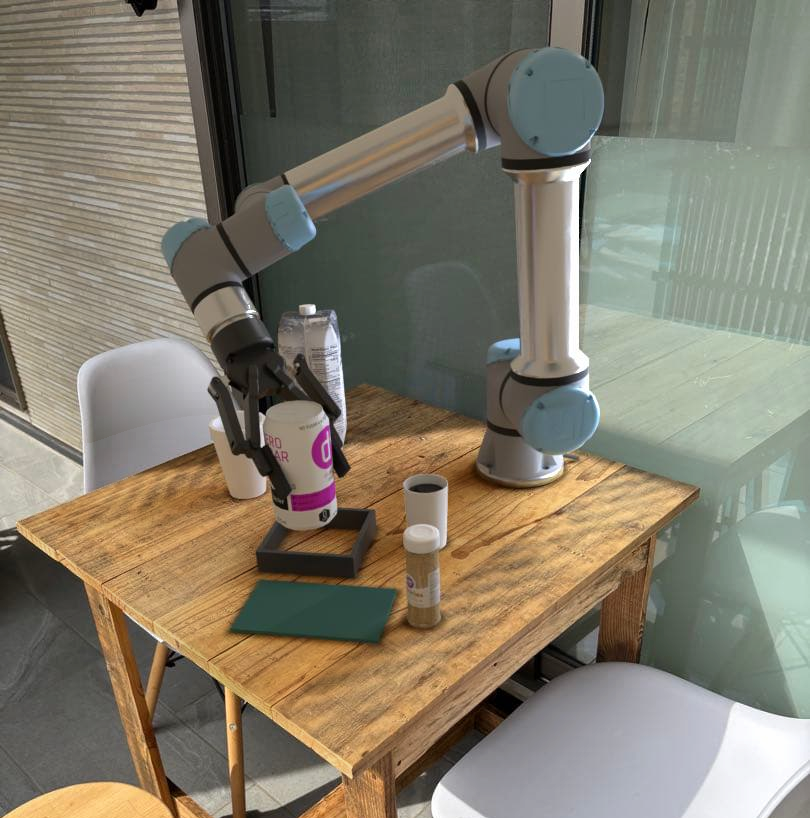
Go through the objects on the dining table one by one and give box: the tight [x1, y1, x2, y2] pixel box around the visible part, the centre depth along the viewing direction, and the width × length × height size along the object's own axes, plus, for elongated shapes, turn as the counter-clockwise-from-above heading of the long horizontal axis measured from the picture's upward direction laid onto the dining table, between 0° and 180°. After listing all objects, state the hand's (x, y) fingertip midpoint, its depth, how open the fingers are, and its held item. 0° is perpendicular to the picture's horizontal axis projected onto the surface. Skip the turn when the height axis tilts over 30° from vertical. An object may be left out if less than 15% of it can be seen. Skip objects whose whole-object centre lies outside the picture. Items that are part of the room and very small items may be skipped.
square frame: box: [254, 506, 378, 579], centre depth 128 cm, size 15×15×4 cm
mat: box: [229, 579, 398, 645], centre depth 115 cm, size 20×12×1 cm, turn 79°
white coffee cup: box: [402, 473, 449, 550], centre depth 127 cm, size 7×7×10 cm
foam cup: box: [208, 410, 267, 500], centre depth 144 cm, size 10×9×13 cm
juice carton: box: [276, 303, 348, 451], centre depth 155 cm, size 9×10×27 cm
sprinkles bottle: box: [402, 524, 442, 629], centre depth 109 cm, size 5×5×13 cm
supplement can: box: [262, 401, 338, 531], centre depth 108 cm, size 8×8×15 cm
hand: (316, 483), depth 107 cm, fingers closed on supplement can, 8 cm apart
